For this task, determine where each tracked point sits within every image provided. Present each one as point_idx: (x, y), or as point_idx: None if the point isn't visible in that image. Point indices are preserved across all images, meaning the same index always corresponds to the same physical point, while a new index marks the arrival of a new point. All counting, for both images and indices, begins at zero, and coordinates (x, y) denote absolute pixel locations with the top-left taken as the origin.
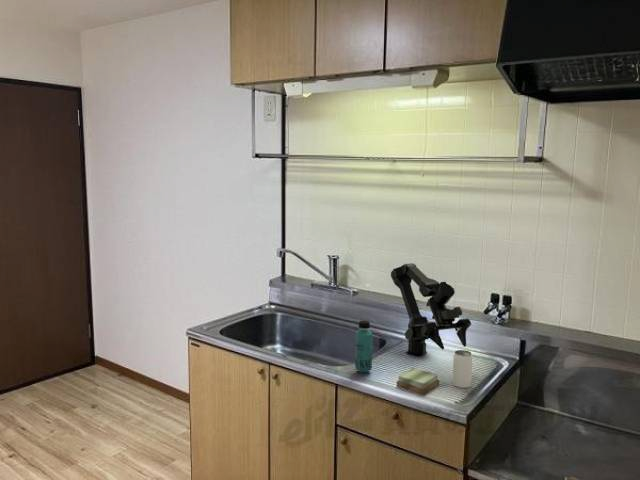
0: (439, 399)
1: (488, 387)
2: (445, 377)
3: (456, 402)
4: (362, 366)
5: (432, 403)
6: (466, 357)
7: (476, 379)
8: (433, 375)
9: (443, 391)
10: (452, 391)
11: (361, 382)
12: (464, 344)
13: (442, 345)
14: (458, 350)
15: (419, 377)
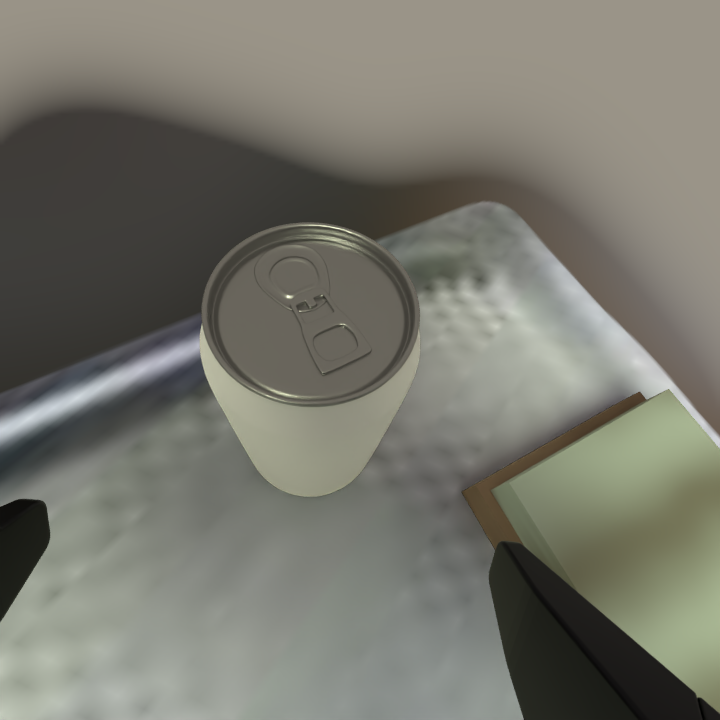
0: (548, 333)
1: (185, 334)
2: (337, 606)
3: (480, 277)
4: None
5: (600, 315)
6: (339, 242)
7: (143, 465)
8: (551, 480)
9: (481, 402)
10: (429, 380)
11: None
12: (22, 533)
13: (547, 573)
14: (307, 401)
15: (675, 493)
